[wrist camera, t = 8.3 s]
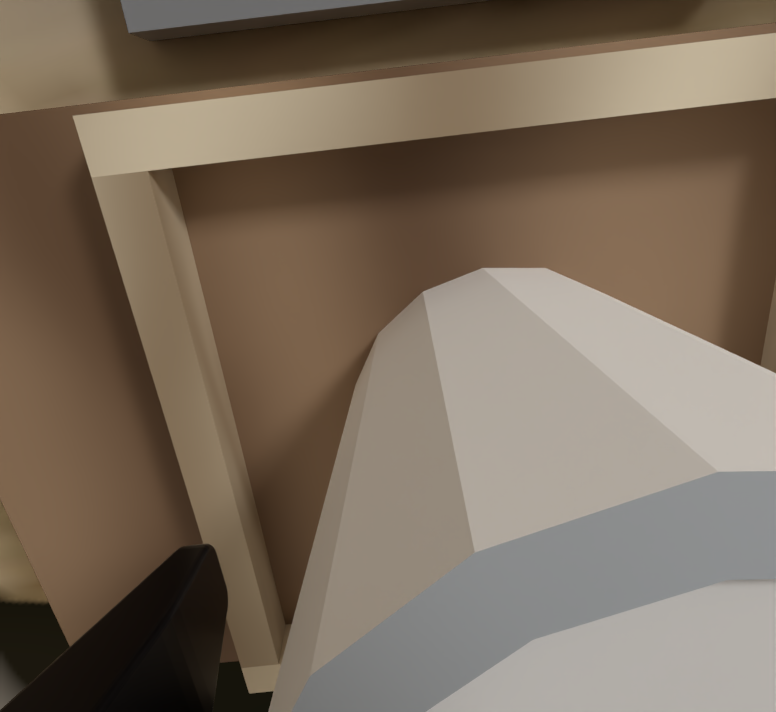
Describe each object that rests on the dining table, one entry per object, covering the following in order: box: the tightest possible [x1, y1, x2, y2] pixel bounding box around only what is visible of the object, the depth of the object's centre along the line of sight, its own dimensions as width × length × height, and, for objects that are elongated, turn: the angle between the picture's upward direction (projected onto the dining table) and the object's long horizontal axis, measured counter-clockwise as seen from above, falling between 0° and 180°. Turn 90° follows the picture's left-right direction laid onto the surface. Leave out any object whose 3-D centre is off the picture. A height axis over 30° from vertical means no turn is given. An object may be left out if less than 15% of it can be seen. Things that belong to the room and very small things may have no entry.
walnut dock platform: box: [0, 23, 776, 693], centre depth 12 cm, size 20×12×6 cm, turn 96°
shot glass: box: [268, 268, 776, 712], centre depth 7 cm, size 7×7×7 cm
